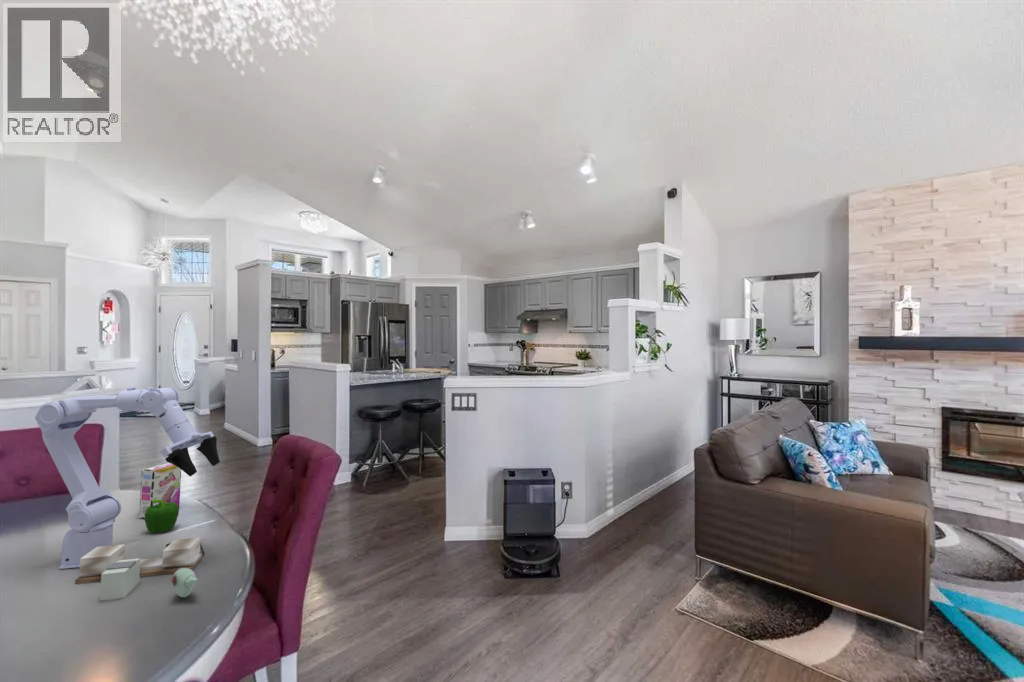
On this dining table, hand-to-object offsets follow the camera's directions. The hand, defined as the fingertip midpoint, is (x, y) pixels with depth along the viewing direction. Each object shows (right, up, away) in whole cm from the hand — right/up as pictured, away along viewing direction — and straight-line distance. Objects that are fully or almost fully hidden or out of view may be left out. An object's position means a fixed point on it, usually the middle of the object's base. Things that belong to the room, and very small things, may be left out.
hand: (205, 469), depth 121 cm
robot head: (+7, -25, -18) cm, 32 cm away
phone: (-9, -25, +5) cm, 27 cm away
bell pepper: (-27, -25, +19) cm, 42 cm away
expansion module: (-9, -24, -16) cm, 30 cm away
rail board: (-12, -24, -6) cm, 28 cm away
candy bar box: (-39, -25, +34) cm, 57 cm away
